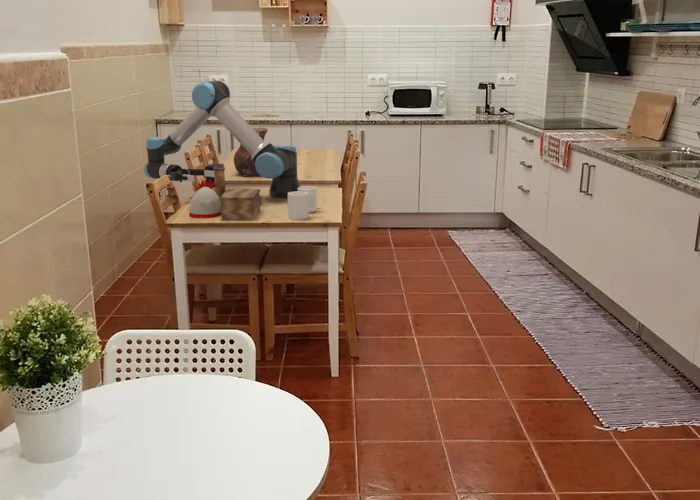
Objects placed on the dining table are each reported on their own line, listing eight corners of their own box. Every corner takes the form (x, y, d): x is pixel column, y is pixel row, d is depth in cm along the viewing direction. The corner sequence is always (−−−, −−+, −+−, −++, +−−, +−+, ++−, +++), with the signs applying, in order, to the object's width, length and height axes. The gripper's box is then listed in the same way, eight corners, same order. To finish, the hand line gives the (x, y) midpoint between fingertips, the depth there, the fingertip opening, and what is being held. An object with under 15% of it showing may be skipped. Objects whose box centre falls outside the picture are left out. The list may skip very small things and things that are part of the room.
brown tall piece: (228, 201, 314) (226, 166, 310) (225, 204, 309) (223, 168, 305) (216, 201, 314) (214, 166, 310) (214, 204, 309) (212, 168, 305)
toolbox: (265, 202, 311) (264, 182, 309) (254, 219, 279) (253, 197, 277) (235, 202, 311) (234, 182, 309) (220, 220, 279) (219, 197, 277)
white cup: (301, 214, 289) (301, 190, 286) (295, 210, 296) (294, 187, 293) (319, 212, 292) (319, 188, 289) (312, 208, 299) (312, 185, 296)
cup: (319, 218, 280) (318, 194, 278) (289, 220, 278) (288, 195, 275) (316, 214, 288) (315, 190, 285) (287, 215, 286) (286, 191, 283)
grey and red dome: (225, 216, 286) (223, 180, 282) (191, 219, 281) (189, 183, 277) (220, 209, 298) (218, 175, 294) (187, 212, 294) (184, 177, 290)
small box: (218, 187, 347) (216, 166, 345) (205, 187, 349) (204, 166, 346) (225, 183, 357) (224, 163, 354) (213, 183, 359) (212, 163, 356)
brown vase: (226, 174, 384) (224, 128, 377) (258, 170, 397) (255, 125, 390) (250, 179, 368) (247, 132, 361) (281, 174, 382) (279, 128, 375)
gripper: (191, 176, 336) (224, 180, 324) (151, 184, 316) (184, 189, 304) (190, 160, 334) (223, 164, 322) (150, 168, 313) (183, 172, 302)
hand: (204, 176), depth 313 cm, fingers open, 13 cm apart
